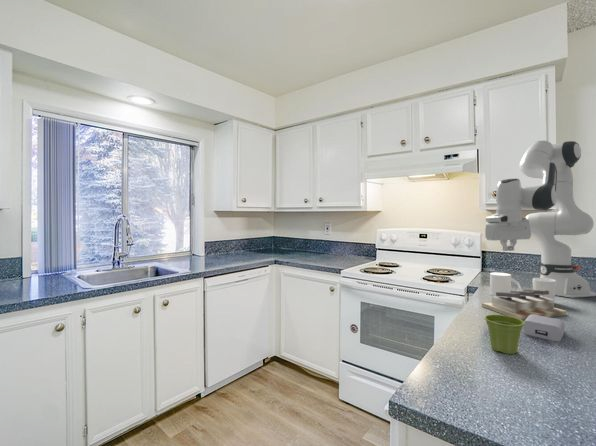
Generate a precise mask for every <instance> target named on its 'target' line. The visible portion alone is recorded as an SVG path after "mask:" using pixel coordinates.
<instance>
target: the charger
mask: <svg viewBox="0 0 596 446" xmlns="http://www.w3.org/2000/svg"><path fill="white" fill-rule="evenodd" d="M523 322H524V325H523V326H522V331H523V334H524V335H527V336H531V337H536V338H541V339H546V340H549V341H554V342H562V339H563V336H564V334H565V321H564V320H562V319H559V318H555V317H544V316H539V315H529V316H528V317H527V319H526V320H523Z"/></svg>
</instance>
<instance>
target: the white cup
mask: <svg viewBox="0 0 596 446" xmlns="http://www.w3.org/2000/svg"><path fill="white" fill-rule="evenodd" d="M555 288H556V280H553V279H548V278H540V277H533V278H532V290H548V291H549V294H547V295H540V296H542V297H546V298H550V299H554V300H555V296H556V295H555ZM535 295H539V294H535Z"/></svg>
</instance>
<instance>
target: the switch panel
mask: <svg viewBox="0 0 596 446" xmlns="http://www.w3.org/2000/svg"><path fill="white" fill-rule="evenodd" d="M481 307H482V308H485V309H487V310H490V311H493V312H496V313H498V314H500V315H505V316H510V317H514V318H517V319H520V320H522V321H525V320H526V319H527V317H528V316H529V315H539V316H544V317H550V318H553V317H558V316H559V317H561V316H567V314H568V313H567V310H564V309H561V308H557V307H555V298H554V299H550V298H546V297H542V296H540V295H535V296H521V297H515V298H514V297H503V296H491V301H490V302H482V303H481Z"/></svg>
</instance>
